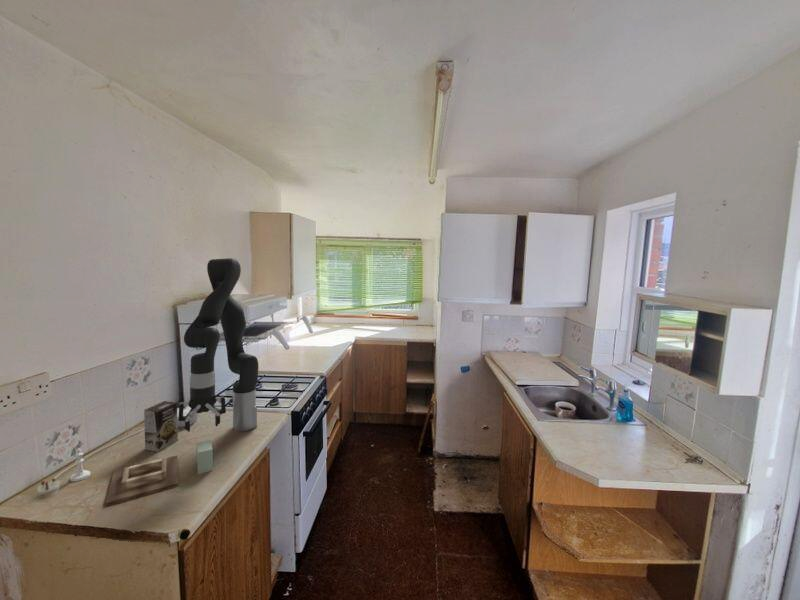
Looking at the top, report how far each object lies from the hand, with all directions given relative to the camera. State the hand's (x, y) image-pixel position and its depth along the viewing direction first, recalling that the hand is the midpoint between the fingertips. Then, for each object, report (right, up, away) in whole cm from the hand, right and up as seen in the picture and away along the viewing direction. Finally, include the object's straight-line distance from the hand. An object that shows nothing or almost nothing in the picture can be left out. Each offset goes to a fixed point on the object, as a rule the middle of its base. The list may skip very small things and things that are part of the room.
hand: (202, 427), depth 117 cm
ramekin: (-27, -10, +33) cm, 44 cm away
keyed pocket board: (-15, -15, -6) cm, 22 cm away
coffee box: (-25, -12, +14) cm, 31 cm away
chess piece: (-37, -14, -6) cm, 40 cm away
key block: (0, -15, +2) cm, 15 cm away
